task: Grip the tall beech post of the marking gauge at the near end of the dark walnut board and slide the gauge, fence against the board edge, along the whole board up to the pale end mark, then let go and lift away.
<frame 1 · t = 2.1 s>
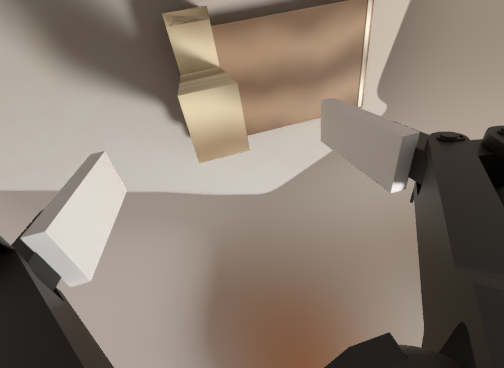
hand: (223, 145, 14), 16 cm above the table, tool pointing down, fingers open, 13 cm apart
board: (276, 74, 29), on the table
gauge: (205, 87, 21), point 7 cm above the table, slide at 0.0 cm
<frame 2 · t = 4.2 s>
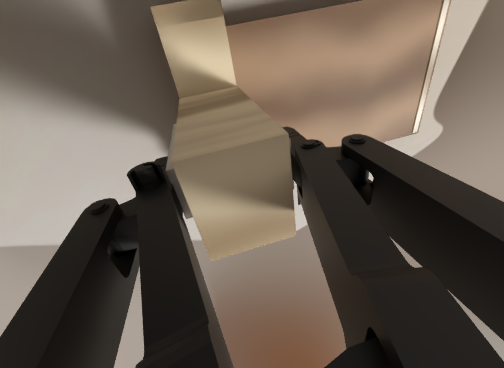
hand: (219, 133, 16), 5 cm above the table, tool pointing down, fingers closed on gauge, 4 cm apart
board: (309, 92, 21), on the table
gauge: (217, 120, 14), point 7 cm above the table, slide at 0.0 cm, touching gripper
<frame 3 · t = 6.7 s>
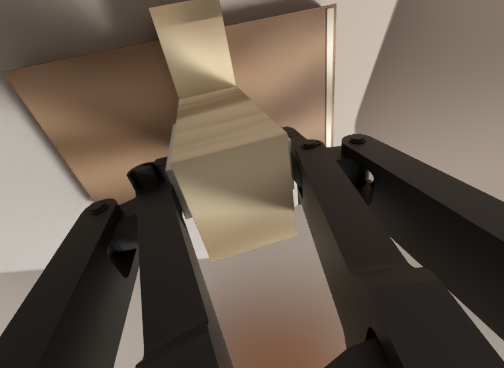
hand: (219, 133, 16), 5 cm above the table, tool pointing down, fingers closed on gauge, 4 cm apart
board: (205, 116, 20), on the table
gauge: (216, 120, 14), point 7 cm above the table, slide at 9.7 cm, touching gripper
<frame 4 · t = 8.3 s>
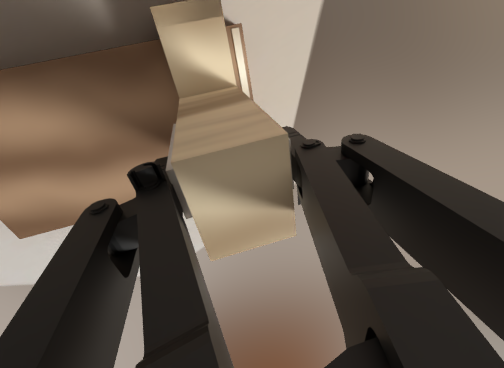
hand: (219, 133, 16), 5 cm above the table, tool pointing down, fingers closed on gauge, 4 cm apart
board: (123, 135, 19), on the table
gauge: (217, 120, 14), point 7 cm above the table, slide at 16.7 cm, touching gripper
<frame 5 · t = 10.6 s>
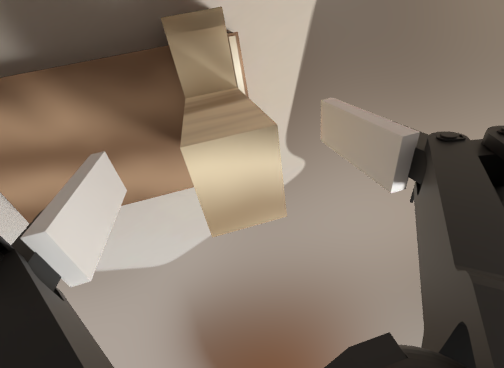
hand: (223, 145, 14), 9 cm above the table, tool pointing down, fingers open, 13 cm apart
board: (129, 133, 21), on the table
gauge: (219, 117, 15), point 7 cm above the table, slide at 17.0 cm
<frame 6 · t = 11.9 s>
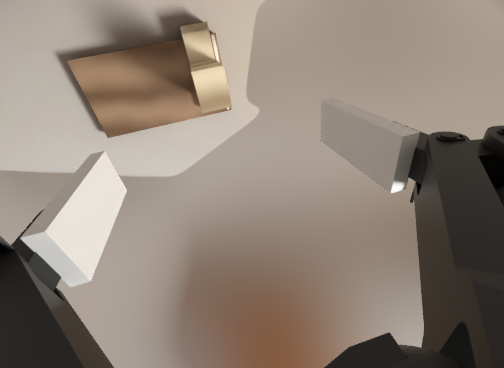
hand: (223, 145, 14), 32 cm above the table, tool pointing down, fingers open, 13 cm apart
board: (159, 86, 40), on the table
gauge: (205, 71, 34), point 7 cm above the table, slide at 17.0 cm
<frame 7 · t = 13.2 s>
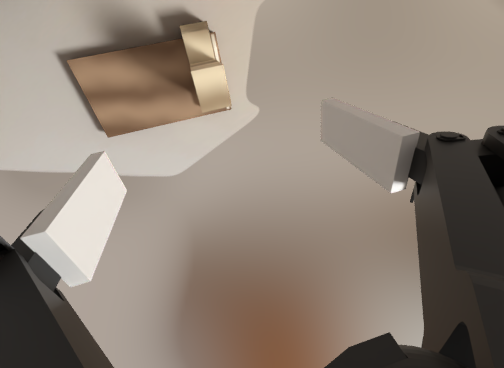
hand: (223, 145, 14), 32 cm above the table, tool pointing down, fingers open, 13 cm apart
board: (159, 85, 40), on the table
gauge: (205, 71, 34), point 7 cm above the table, slide at 17.0 cm
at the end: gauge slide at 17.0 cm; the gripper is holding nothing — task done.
